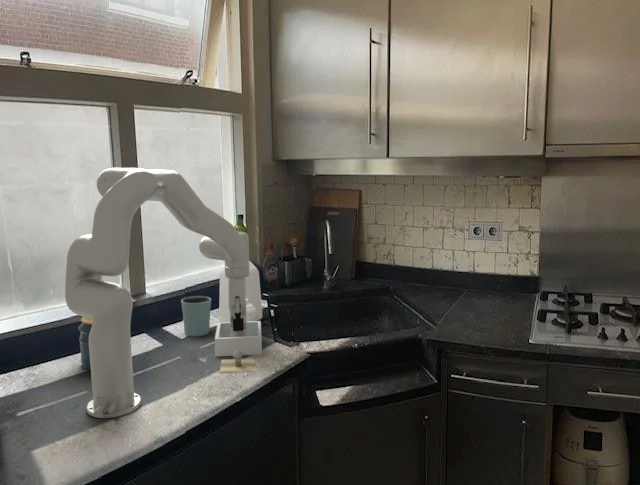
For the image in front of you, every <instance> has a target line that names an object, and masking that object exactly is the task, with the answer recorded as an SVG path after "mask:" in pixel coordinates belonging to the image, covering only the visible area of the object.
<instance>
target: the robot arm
mask: <svg viewBox="0 0 640 485" xmlns="http://www.w3.org/2000/svg"><path fill="white" fill-rule="evenodd" d="M96 188H97V192H98V193H99V195H100V196H101V199H100V200H99V201H98V203H97V206H96V208H95V211H94V215H93V221H92V222H93V223H92V232H91V234H83V235H80V236H78V237H77V238H76V239H74V240H73V242H72V243H71V245H70V247H69V249H68V251H67V256H66V266H65V267H66V269H65V270H66V271H65V291H64V298H65V299H64V300H65V303H66V306H67V308H68V310H70V311H71V312H72V313H73V314H75V315H77V316H80V317H87V318H90V319H92V320H93V324H92V327H91V330H90V334H89V352H90V365H91V370H90V375H91V376H90V378H91V389H92V390H91V391H92V399H91V400H90V401H89V402H88V403H87V405H86V412H87V414H88V415H89V416H91V417H93V418H98V419H112V418H113V419H114V418H117V417H118V418H119V417H123V416H126V415H129V414H131V413H133V412H134V411H136V410H137V409H138V408H140V406H141V404H142V397H141V396H140V395H139V394H138V393H136V392H135V388H134V387H135V386H134V371H133V368H134V367H133V357H132V356H133V352H132V342H131V338H132V337H131V320H132V313H133V312H132V311H133V303H134V300H133V297H132V294H131V293H130V291H129V290H128V289H127V288H126V287H125V286H123V285H122V284H119V283H116V282H111V281H107V280H103V277H118V276H121V275H122V274H124V273H125V271H127V268H128V267H129V266H128V265H129V259H130V248H131V246H130V245H131V231H132V222H133V219H134V217H135V216H134V215H135V213H136V212H137V211H138V209H140V207H141V206H142V205H143V204H144V203H146V202H148V201H150V202H151V201H153V202H160V203H162V204H163V205H164V207H165V208H166V209H167V211H169V212H170V213H171V215H172V216H173V217H174V219H175V220H176V221H177V222H178V223H179V224H180V226H182V227H184V228H185V229H186V230H187V229H188V230H189V231H191V232H194V233H196V234H199V235H202V236H203V237H202V238H201V240H200V241H199V244H198V249H199V252H200V253H201V255H202V256H203V257H204V258H207V259H211V260H217V261H224V269H225V277H226V278H229V279H228V297H229V309H230V310H231V309H233V316H234V318H233V331H243V330H244V326H243V318H242V309H244V306H245V297H246V277H249V261H250V245H249V244H250V242H249V240H250V238H249V237H250V236H249V234H248V233H247V232H245V231H239V230H237V229H236V228H235V227H234V225H233V224H232V223H231V222H229V220H227V219H225V218H224V217H222V216H221V215H220V214H218V213H217V212H215V211H214V210H212V209H211V208H209V207H208V206H206V204H205V203H204V202H203V201H202V199H200V197H199V196H198V195H197V193H196V192H195V191H194V189H193V188H192V187H191V186H190V184H189V183H188V182H187V180H186V179H185V177H183V175H181V174H180V173H179V172H177V171H175V170H171V169H145V168H140V167H139V168H138V167H110V168H107V169H104V170H103V171H102V172H100V174H99V175H98V176H97V180H96ZM239 300H240V301H239ZM240 307H241V308H240ZM240 310H241V312H240ZM235 311H236V312H235Z"/></svg>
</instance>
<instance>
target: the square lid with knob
mask: <svg viewBox="0 0 640 485" xmlns="http://www.w3.org/2000/svg"><path fill="white" fill-rule="evenodd" d="M232 357H233V358H232V359H231V358H230V359H229V358H228V359H221V361H220V368H219V374H233V373H235V374H236V373H237V374H238V373H251V372H252V373H253V372H254V373H256V371H257V370H256V368H257V366H256V357H254V358H253V357H252V358H250V357H249V358H243V355H242V353H241V352H240V351H236V352H235V353H234V355H233V356H232Z"/></svg>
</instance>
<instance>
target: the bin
mask: <svg viewBox="0 0 640 485" xmlns="http://www.w3.org/2000/svg"><path fill="white" fill-rule="evenodd" d="M262 339H263V338H262V322H261V320H257V321H247V337H231V330H230V322H221V323H219V322H217V326H216V331H215V336H214V355H215V357H231V356H232V357H233V355H234V353H235V352H236V351H240V352H241V353H242V356H253V355H254V356H255V355H263V349H262V348H263V345H262V343H263V342H262V341H263V340H262Z"/></svg>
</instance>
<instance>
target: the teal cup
mask: <svg viewBox="0 0 640 485" xmlns="http://www.w3.org/2000/svg"><path fill="white" fill-rule="evenodd" d="M180 301H181V302H180V303H181V311H182V320H183V328H184V334H185V336H188V337H202V336H206V335H208V334H209V333H210V329H211V328H210V324H211V323H210V322H211V321H210V320H211V309H212V308H211V307H212V298H211V297H209V296H205V295H204V296H203V295H195V296H194V295H193V296H192V295H191V296H187V297H186V296H185V297H184V298H182V299H181V300H180Z"/></svg>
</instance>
